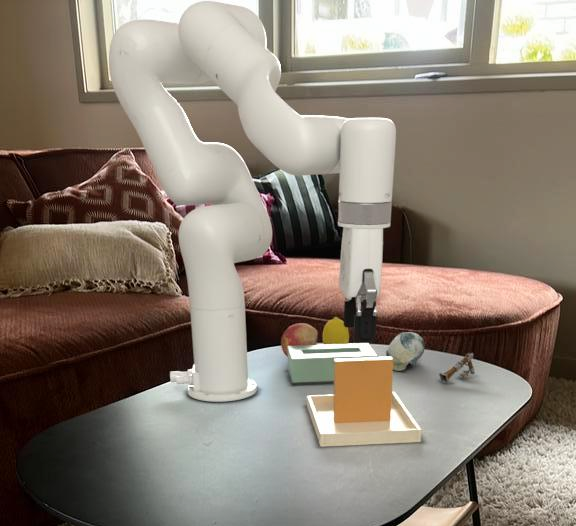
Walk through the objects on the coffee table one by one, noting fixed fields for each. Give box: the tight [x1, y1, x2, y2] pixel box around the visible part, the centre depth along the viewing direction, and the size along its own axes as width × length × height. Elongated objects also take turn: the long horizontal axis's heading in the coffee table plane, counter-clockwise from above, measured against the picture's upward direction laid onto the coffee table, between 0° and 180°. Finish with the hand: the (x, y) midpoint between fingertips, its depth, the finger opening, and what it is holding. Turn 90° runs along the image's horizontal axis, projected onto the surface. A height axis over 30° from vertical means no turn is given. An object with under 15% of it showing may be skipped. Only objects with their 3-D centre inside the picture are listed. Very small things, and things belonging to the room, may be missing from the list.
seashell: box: [385, 331, 426, 372], centre depth 153 cm, size 6×8×12 cm
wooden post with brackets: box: [438, 352, 475, 385], centre depth 143 cm, size 2×8×4 cm, turn 123°
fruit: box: [280, 322, 318, 358], centre depth 154 cm, size 8×8×8 cm
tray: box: [306, 391, 423, 448], centre depth 122 cm, size 15×19×2 cm
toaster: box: [287, 342, 380, 386], centre depth 146 cm, size 17×10×5 cm, turn 95°
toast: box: [333, 356, 394, 423], centre depth 120 cm, size 9×2×10 cm, turn 95°
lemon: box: [322, 316, 350, 345], centre depth 159 cm, size 6×6×8 cm
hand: (358, 334), depth 116 cm, fingers open, 9 cm apart
